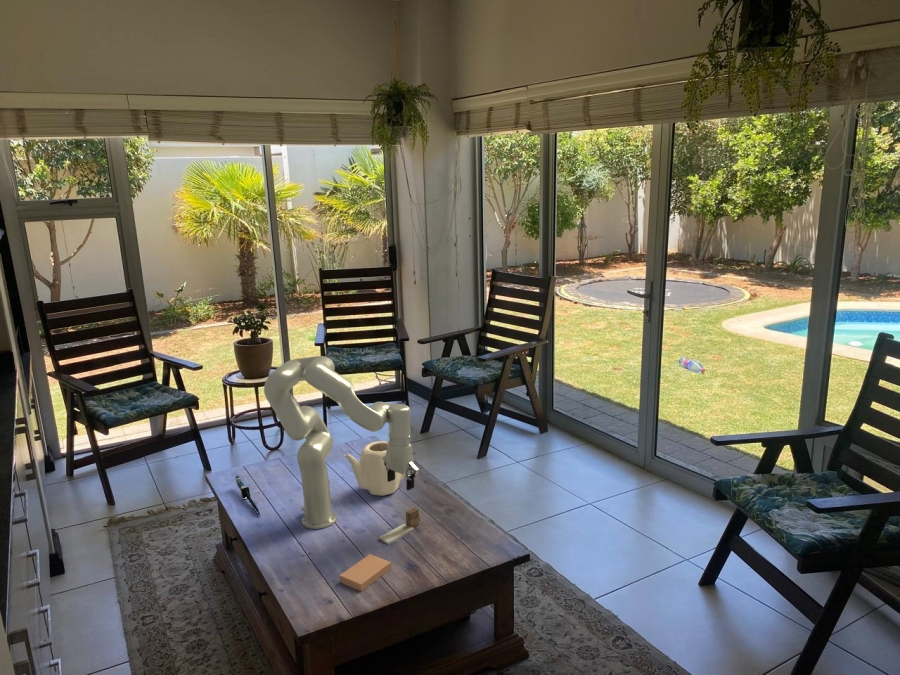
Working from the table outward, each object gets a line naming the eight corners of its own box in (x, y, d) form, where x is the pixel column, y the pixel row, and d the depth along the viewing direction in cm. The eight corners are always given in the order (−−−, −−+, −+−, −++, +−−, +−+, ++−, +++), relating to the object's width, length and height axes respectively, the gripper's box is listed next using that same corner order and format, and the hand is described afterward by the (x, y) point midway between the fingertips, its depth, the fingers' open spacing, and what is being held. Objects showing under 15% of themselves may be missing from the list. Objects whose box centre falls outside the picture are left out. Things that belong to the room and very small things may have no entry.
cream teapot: (341, 491, 270) (337, 447, 265) (402, 475, 281) (399, 433, 277) (354, 507, 256) (351, 461, 252) (418, 490, 268) (415, 445, 264)
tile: (370, 561, 220) (340, 583, 209) (369, 554, 220) (339, 575, 209) (391, 570, 215) (361, 592, 204) (391, 562, 215) (361, 584, 204)
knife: (235, 485, 276) (234, 475, 275) (243, 483, 278) (242, 473, 276) (254, 524, 251) (252, 513, 250) (262, 521, 253) (261, 511, 251)
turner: (378, 539, 233) (377, 523, 231) (412, 521, 244) (411, 506, 243) (388, 544, 229) (387, 528, 228) (421, 525, 241) (420, 510, 239)
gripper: (375, 436, 238) (376, 480, 242) (409, 449, 227) (410, 496, 231) (390, 430, 243) (391, 474, 247) (425, 443, 232) (425, 488, 236)
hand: (400, 484), depth 239 cm, fingers open, 9 cm apart
